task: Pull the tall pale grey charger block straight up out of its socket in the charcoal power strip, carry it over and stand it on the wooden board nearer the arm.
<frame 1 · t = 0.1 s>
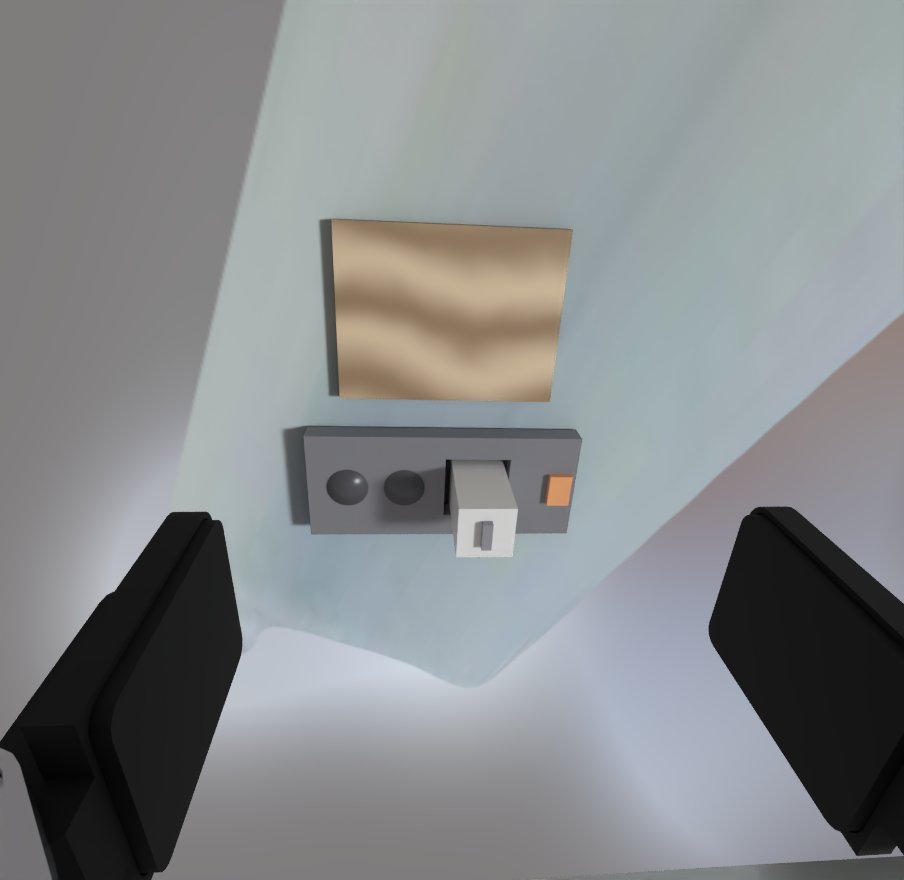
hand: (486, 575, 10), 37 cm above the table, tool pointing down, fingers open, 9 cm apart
wooden board: (449, 316, 45), on the table
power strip: (442, 476, 51), on the table
charger: (474, 476, 51), resting in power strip
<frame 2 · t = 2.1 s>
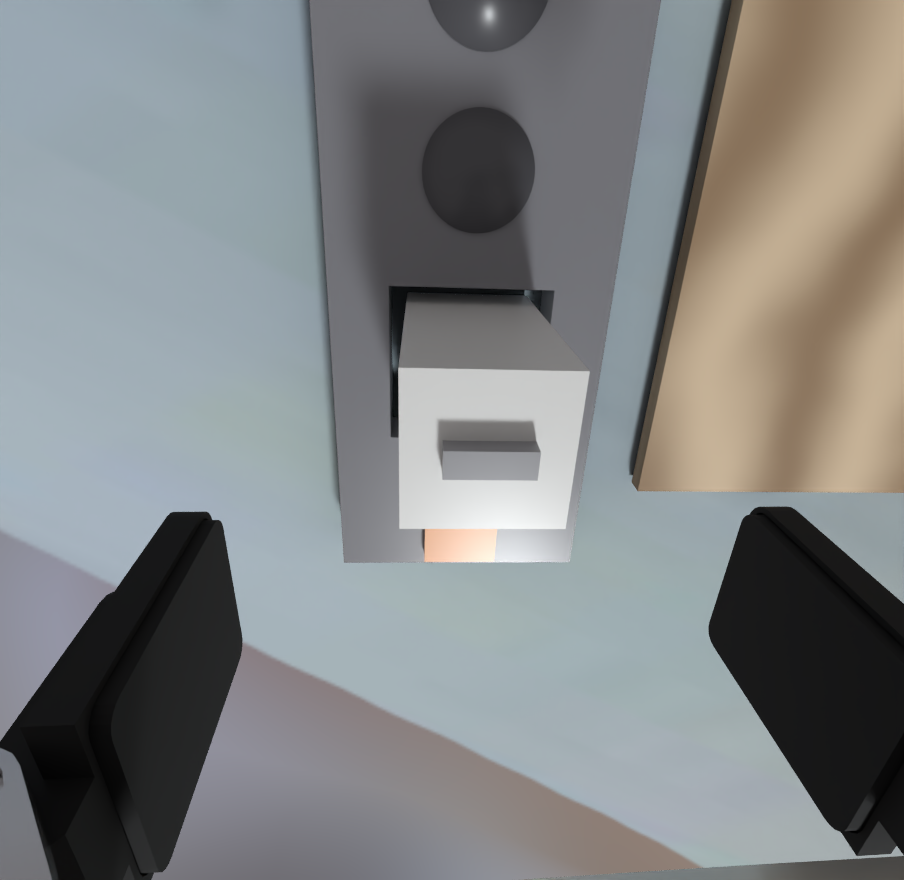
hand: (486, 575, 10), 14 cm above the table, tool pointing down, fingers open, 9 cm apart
wooden board: (845, 286, 22), on the table
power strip: (468, 275, 21), on the table
charger: (464, 351, 22), resting in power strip
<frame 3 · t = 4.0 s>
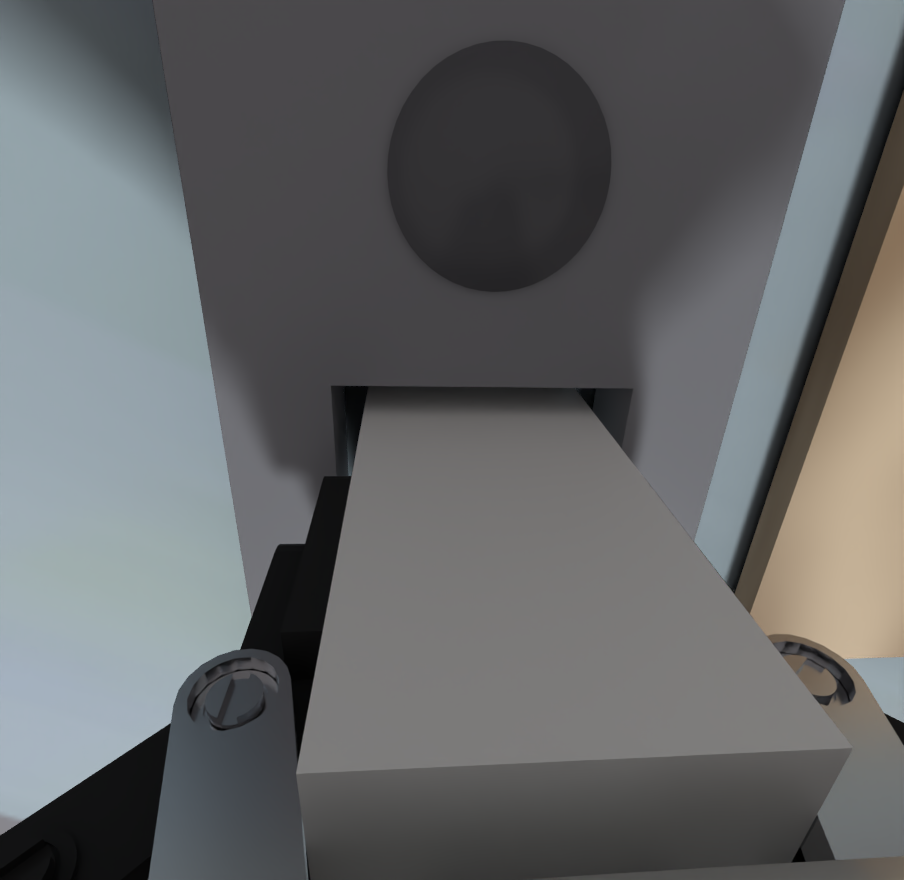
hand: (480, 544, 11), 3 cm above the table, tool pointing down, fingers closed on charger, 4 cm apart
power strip: (474, 351, 12), on the table
charger: (466, 469, 14), resting in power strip, touching gripper
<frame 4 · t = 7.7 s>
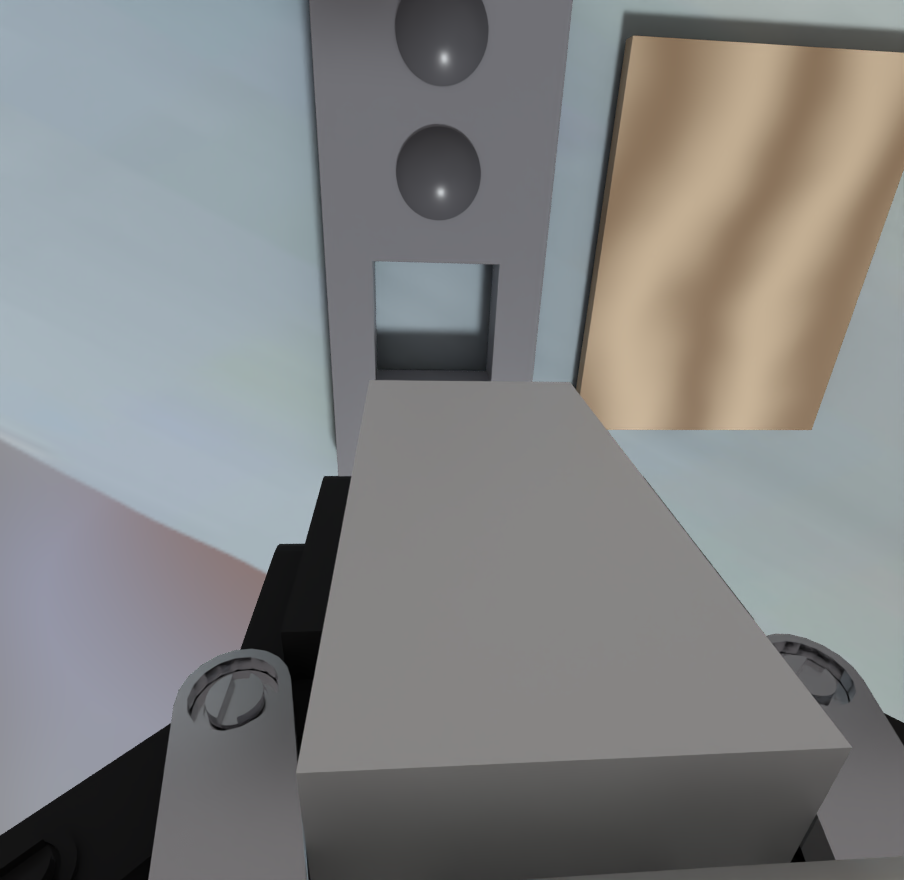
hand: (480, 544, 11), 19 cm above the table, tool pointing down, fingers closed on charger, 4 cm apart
wooden board: (728, 262, 28), on the table
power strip: (434, 254, 27), on the table
charger: (466, 469, 14), point 16 cm above the table, touching gripper
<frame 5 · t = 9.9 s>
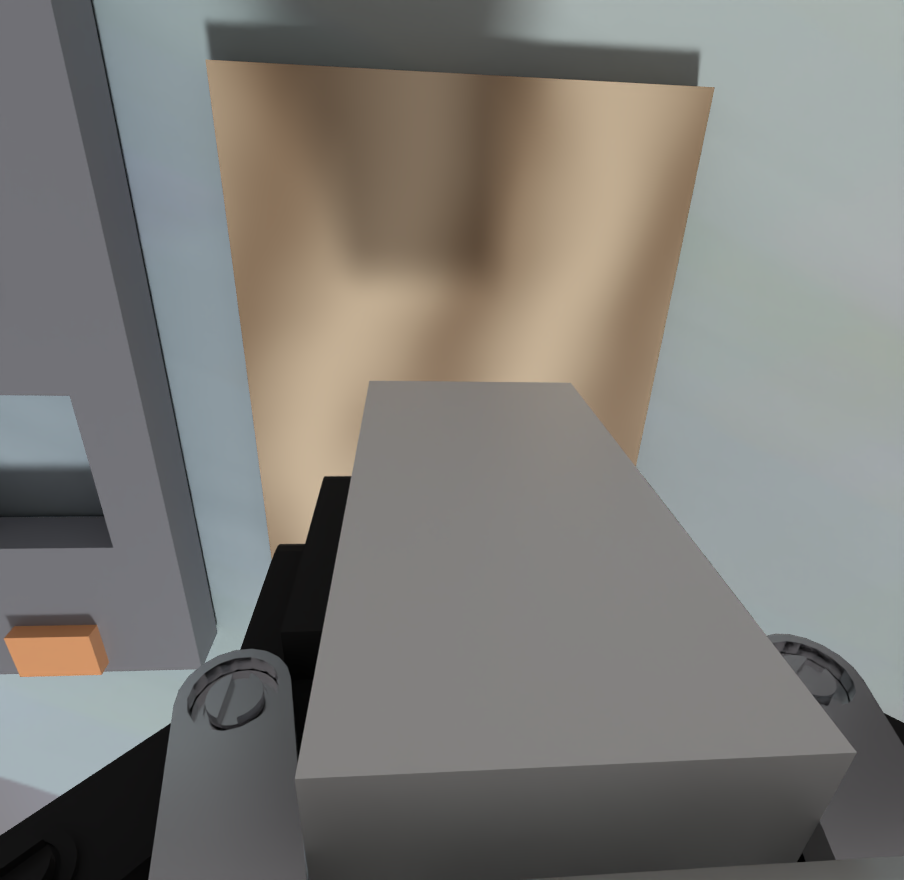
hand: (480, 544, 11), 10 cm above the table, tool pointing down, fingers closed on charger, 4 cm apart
wooden board: (454, 376, 20), on the table
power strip: (12, 370, 19), on the table
charger: (466, 470, 13), point 7 cm above the table, touching gripper
when the fingers open (5 cm above the table, at t = 11.4 s): charger stays where it is, resting on wooden board.
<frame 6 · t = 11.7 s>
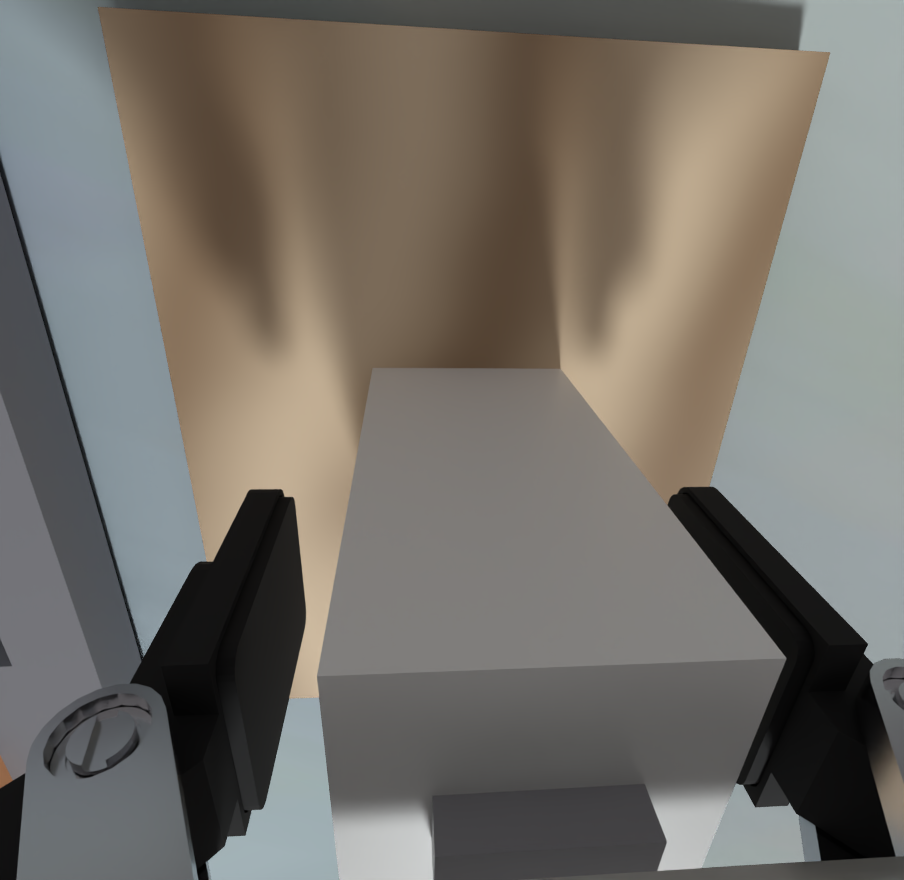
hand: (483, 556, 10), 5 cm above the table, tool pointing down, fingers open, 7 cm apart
wooden board: (459, 438, 15), on the table
charger: (464, 452, 14), point 1 cm above the table, touching wooden board
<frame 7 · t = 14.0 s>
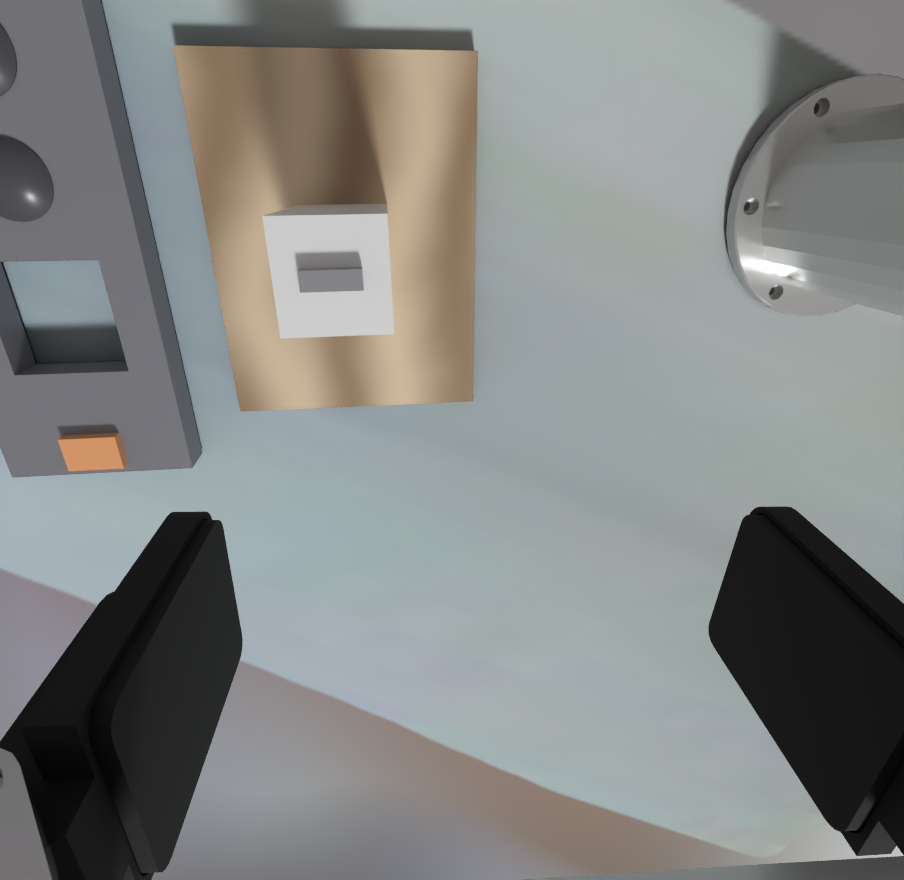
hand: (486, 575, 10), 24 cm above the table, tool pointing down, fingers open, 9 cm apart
wooden board: (347, 249, 30), on the table
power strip: (57, 253, 29), on the table
charger: (346, 250, 29), point 1 cm above the table, touching wooden board
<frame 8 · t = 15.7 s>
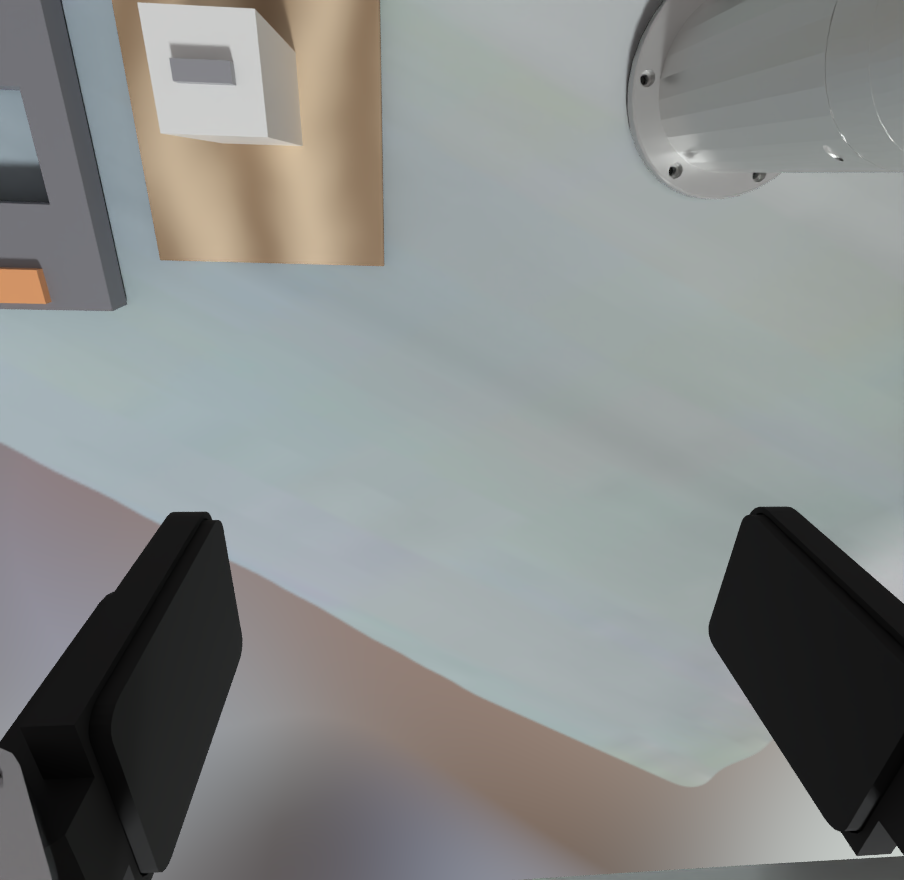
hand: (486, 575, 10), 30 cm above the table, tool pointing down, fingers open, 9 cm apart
wooden board: (260, 100, 32), on the table
charger: (258, 98, 31), point 1 cm above the table, touching wooden board
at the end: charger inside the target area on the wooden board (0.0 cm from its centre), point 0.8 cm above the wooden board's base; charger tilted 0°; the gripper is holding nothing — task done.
